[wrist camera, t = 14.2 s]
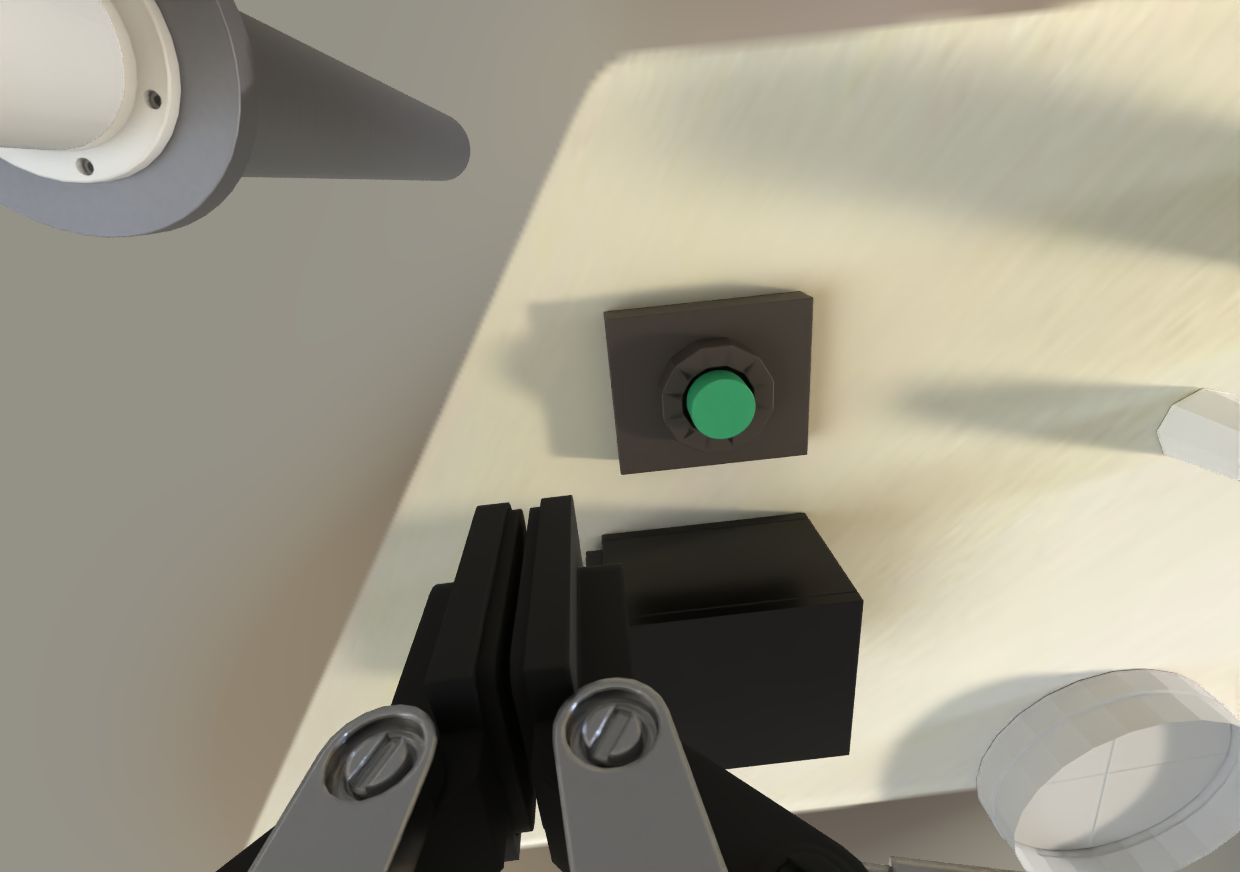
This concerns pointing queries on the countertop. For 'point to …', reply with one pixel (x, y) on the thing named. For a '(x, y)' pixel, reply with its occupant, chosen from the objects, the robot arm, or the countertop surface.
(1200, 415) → the salt shaker
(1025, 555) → the countertop surface
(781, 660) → the cabinet
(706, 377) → the button
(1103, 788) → the dish
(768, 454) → the control block
